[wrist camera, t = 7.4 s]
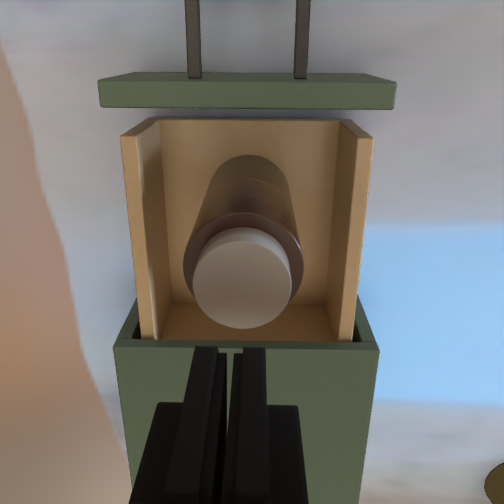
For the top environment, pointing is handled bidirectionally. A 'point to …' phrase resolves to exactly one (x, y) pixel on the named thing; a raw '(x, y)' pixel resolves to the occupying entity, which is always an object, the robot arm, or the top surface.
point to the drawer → (237, 144)
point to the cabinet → (278, 393)
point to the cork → (495, 485)
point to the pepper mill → (244, 245)
